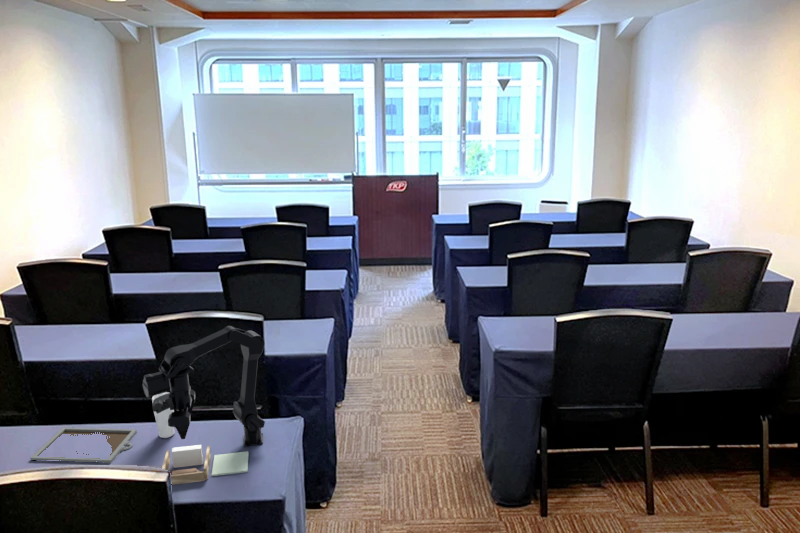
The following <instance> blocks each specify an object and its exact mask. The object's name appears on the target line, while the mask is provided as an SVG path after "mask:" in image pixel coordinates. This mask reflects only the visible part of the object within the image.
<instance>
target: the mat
mask: <svg viewBox="0 0 800 533" xmlns="http://www.w3.org/2000/svg"><path fill="white" fill-rule="evenodd" d="M248 469H249V451H240V452H238V451H237V452H230V453H223V454H222V453H221V454H214V455H213V462H212V471H211V477H218V476H225V475H235V474H242V473H248V471H249V470H248Z"/></svg>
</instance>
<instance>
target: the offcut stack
mask: <svg viewBox="0 0 800 533" xmlns="http://www.w3.org/2000/svg"><path fill="white" fill-rule="evenodd" d="M192 472H200V469H197V468H196V467H194V468H187V469H186V468H185V469H177V470H172V472H171V475H175V474H183V473H192Z"/></svg>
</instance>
